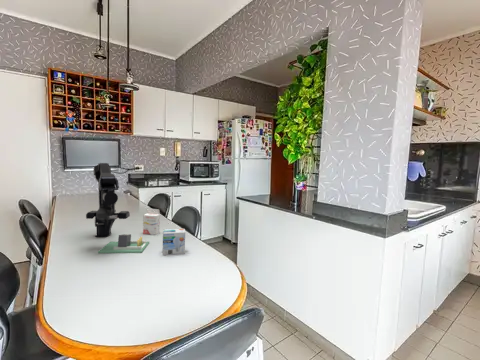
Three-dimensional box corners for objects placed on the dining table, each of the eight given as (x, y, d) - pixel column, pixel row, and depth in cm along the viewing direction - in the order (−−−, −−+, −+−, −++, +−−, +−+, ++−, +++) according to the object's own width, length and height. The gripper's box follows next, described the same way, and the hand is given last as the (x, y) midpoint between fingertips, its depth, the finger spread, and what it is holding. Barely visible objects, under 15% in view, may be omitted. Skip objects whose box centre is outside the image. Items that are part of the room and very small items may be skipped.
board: (98, 253, 118) (98, 243, 118) (110, 243, 132) (110, 234, 131) (141, 252, 120) (141, 243, 120) (149, 242, 134) (149, 234, 134)
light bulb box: (162, 255, 118) (162, 233, 117) (162, 250, 124) (162, 229, 124) (185, 253, 121) (185, 232, 120) (184, 248, 127) (184, 228, 126)
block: (117, 246, 121) (118, 235, 122) (122, 245, 127) (123, 234, 128) (126, 246, 121) (127, 235, 122) (130, 245, 127) (131, 234, 128)
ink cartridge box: (142, 234, 148) (142, 210, 147) (146, 231, 153) (146, 208, 152) (156, 235, 148) (156, 210, 146) (160, 232, 153) (160, 209, 151)
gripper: (79, 203, 114) (80, 236, 116) (121, 204, 116) (122, 236, 117) (91, 199, 125) (92, 229, 127) (129, 200, 127) (130, 229, 129)
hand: (108, 231), depth 124 cm, fingers closed
